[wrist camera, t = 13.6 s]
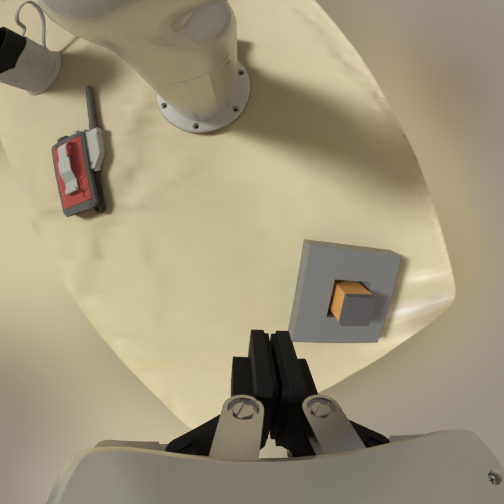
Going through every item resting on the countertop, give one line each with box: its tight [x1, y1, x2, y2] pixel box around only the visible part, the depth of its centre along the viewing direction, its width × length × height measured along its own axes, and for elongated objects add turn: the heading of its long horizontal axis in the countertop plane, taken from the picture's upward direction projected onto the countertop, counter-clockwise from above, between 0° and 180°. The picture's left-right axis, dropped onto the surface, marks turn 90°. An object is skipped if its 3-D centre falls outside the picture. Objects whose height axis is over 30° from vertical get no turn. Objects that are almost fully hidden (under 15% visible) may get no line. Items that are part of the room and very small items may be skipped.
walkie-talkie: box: [52, 85, 106, 217], centre depth 32 cm, size 9×4×20 cm
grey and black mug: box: [0, 1, 62, 95], centre depth 21 cm, size 9×14×15 cm, turn 162°
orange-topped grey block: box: [329, 279, 376, 326], centre depth 36 cm, size 4×4×7 cm
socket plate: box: [288, 240, 401, 343], centre depth 38 cm, size 14×14×4 cm
